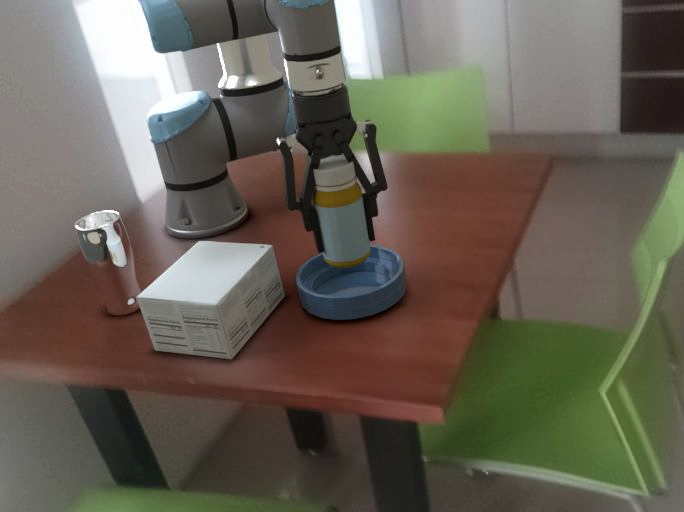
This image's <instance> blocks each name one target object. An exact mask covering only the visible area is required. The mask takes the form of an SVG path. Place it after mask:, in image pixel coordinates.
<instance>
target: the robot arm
mask: <svg viewBox="0 0 684 512" xmlns="http://www.w3.org/2000/svg"><path fill="white" fill-rule="evenodd" d="M137 5H138V11H139V16H140V19H141V23H142V26H143V30H144V32H145V35H146V37H147V41H148V44H149V45H150V47H151V49H152V50H153V51H154V52H155V53H158V54H160V55H161V54H169V53H175V52H176V53H177V52H182V53H185V52H188V51H191V50H195V49H200V48H205V47H209V46H213V45H214V46H215V45H217V49H218V53H219V58H220V62H221V65H222V66H221V67H222V70H223V76H222V77H221V78H220V81H219V83H218V89H219V93H220V95H219V96H215V97H211V95H210V94H209V93H208V92H207V91H205V90H194V91H186V92H182V93H179V94H176V95H173V96H170V97H168V98H165V99H164V100H162V101H159V102H158V103H157V104H156V105H154V106H153V107H152V108H151V109H150V110H149V112H148V114H147V116H146V121H147V122H146V123H147V127H148V131H149V140H150V142H151V143H152V145H153V148H154V151H155V154H156V159H157V162H158V165H159V169H160V173H161V176H162V180H163V183H164V187H165V192H166V193H165V214H164V216H165V218H164V220H165V226H166V229H167V232H168V233H169V234H170V235H172V236H174V237H177V238H181V239H204V238H209V237H215V236H218V235H221V234H223V233H226V232H229V231H231V230H233V229H235V228H237V227H239V226H240V225H241V224H242V223H244V222H245V221H246V220H247V218H248V216H249V210H248V207H247V203H246V201H245V199H244V197H243V196H242V194H241V193H240V191H239V189H238V188H237V186H236V184H235V183H234V182H233V180H232V179H231V177H230V174H229V173H230V172H229V170H228V165H227V163H231V162H234V161H239V160H243V159H247V158H251V157H255V156H259V155H262V154H266V153H267V154H268V153H271V152H272V153H273V152H274V153H276V152H278V151H280V153H281V161H282V172H283V173H282V174H283V186H284V187H283V188H284V197H285V198H284V199H285V203H286V206H287V208H288V210H289V211H292V212H294V211H298V212H300V213H301V218H302V223H303V224H302V225H303V227H304V229H305V231H306V232H307V233H310V232H312V235H313V240H314V245H315V248H316V250H317V252H318V254H320V253H323V252H324V250H323V245H322V240H321V234H320V229H319V224H318V218H317V213H316V210H315V208H314V204H313V191H314V186H315V176H314V169H318V167H319V165H320V160H321V159H323V158H327V157H329V156H331V155H334V156H338V155H344V156H345V158H346V160H347V161H348V163H350V162H352V161H353V164H354V170H355V174H356V178H357V180H358V181H359V183H360V185H361V187H362V188H363V190H364V192H362V197H363V203H364V210H365V216H366V223H367V229H368V236H369V242H370V243H371V242H375V241H376V234H375V229H374V222H373V218H376V217H379V207H378V201H377V199H378V194H380V193H381V192H386V191H387V190H388V187H389V186H388V183H387V178H386V175H385V174H386V173H385V170H384V166H383V163H382V160H381V155H380V152H379V148H378V144H377V131H378V129H377V125H376V124H375V123H374V122H373V121H372V119H366V120H364V121H356V120H355V119H354V116H353V115H352V109H351V102H350V96H349V89H348V86H347V85H346V84H345V82H346V79H347V77H346V71H345V65H344V58H343V52H342V44H341V38H340V31H339V24H338V17H337V11H336V3H335V0H137ZM273 33H278V35H279V40H280V47H281V51H282V56H283V63H284V67H285V73H286V77H287V80H285V79H284V75H283V73H282V72H281V71H280V70H279V69H277V68H276V67H274V66H273V64H272V60H271V56H270V55H271V54H270V50H269V46H268V41H267V35H268V34H273ZM357 131H358V134H359V136H360V137H361V138H362V139H363V143H364V146H365V150H366V154H367V156H368V160H369V163H370V168H371V171H372V175H373V179H374V181H372V182H371V181H370V179H369V178H368V176H367V174H366V172H365V171H364V169H363V167H362V166H361V164H360V162H359V160H358V159H357V158H356V156H355V153H354V152H353V150H352V147H350V144H351V142H352V140H353V138H354V136H355V134H356V132H357ZM297 143H299V144H300V145H301V146H302V147H303V148H304V149H305V150H306V151H307V152H306V157H305V158H306V162H305V166H304V171H303V178H302V182H301V188H300V193H299V198H297V191H296V190H297V189H296V177H295V176H296V175H295V162H294V156H293V154H294V153H295V152H296V145H297Z"/></svg>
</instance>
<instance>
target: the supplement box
mask: <svg viewBox="0 0 684 512" xmlns="http://www.w3.org/2000/svg"><path fill="white" fill-rule="evenodd" d="M285 295H286V294H285V290H284V287H283V282H282V279H281V274H280V270H279V266H278V261H277V258H276V253H275V249H274V245H272V244H266V243H265V244H264V243H246V242H244V243H243V242H227V241H226V242H225V241H214V240H213V241H212V240H198V241H197V242H196V243H195V244H193V246H191V247H190V248H189V250H187V251H186V252H185V253H184V254H183V255H182V256H181V257H180V258H178V260H176V261H175V262H174V263H173V264H172V265H171V266H169V267H168V268H167V269H166V270H165V271H164V272H163V273H161V274H160V275H159V276H158V277H157V278H156V279H155V280H154V281H153V282H152V283H151V284H149V286H147V287H146V288H145V289H144V290H143V291H142V293H140V294H139V295H138V296H137V297H136V298H137V301H138V303H139V306H140V309H139V310H140V311H141V314H142V317H143V321H144V323H145V326H146V328H147V331H148V335H149V338H150V341H151V343H152V347H153V349H154V351H155V352H166V353H173V354H181V355H192V356H199V357H208V358H216V359H217V358H218V359H225V360H233V359H234V357H235V356H236V355H237V354H238V353H239V352H240V350H241V349H242V348H243V347H244V346H245V345H246V343H247V342H248V341H249V340H250V339H251V338H252V336H253V335H254V334H255V332H257V330H258V329H259V328H260V326H262V324H263V323H264V322H265V321H266V319H267V318H268V317H269V316H270V315H271V313H273V311H274V310H275V309H276V308H277V306H279V304H280V303H281V302H282V300H283V299H284V298H285V297H286V296H285Z"/></svg>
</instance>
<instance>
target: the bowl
mask: <svg viewBox="0 0 684 512" xmlns="http://www.w3.org/2000/svg"><path fill="white" fill-rule="evenodd" d="M370 250H371V253H370V255H369V257H368V258H367V260H366V261H364V262H363V263H361V264H359V265H357V266H353V267H348V268H338V267H333V266H331V265H330V264H328V263H327V262H326V261H325V260H324V256H323V253H318V254H316V255H314V256H313V257H311V258H309V259H308V260H307V261H305V262H304V263H303V264H302V265H301V266H300V267H299V268H298V270H297V273H296V275H295V281H296V282H295V283H296V286H297V291H298V297H299V299H300V304H301V307H302V308H303V309H304V310H305V311H306V312H307V313H309V314H311V315H313V316H316V317H318V318H321V319H327V320H332V321H333V320H334V321H344V320H356V319H361V318H367V317H369V316H370V317H371V316H374V315H376V314H378V313H381V312H383V311H386V310H388V309H389V308H391V307H392V306H394V305H395V304H397V303H398V302H399V301H400V300H401V299H402V297H404V295H405V293H406V290H407V285H408V284H407V275H406V268H405V262H404V260H403V257H402V256H401V254H399V253H398V252H396V251H395V250H393V249H391V248H388V247H385V246H381V245H376V244H375V245H374V244H370Z"/></svg>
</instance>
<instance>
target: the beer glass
mask: <svg viewBox="0 0 684 512" xmlns="http://www.w3.org/2000/svg"><path fill="white" fill-rule="evenodd" d="M73 226H74V229H75V232H76V236H77V240H78V243H79V246H80V250H81V253H82V255H83V257H84V260H85V262H86V264H87V265H88V268H89V269H90V271H91V272H92V274H93V276H94V277H95V279H96V280H97V282H98V284H99V286H100V288H101V290H102V292H103V296H104V300H105V306H106V311H107V313H108V314H109V315H112V316H117V317H119V316H126V315H130V314H133V313H135V312H138V311H139V310H141V309H140V306H139V303H138V301H137V298H136V297H137V296H138V295H139V294H140V293H142V292H143V291H142V289H141V287H140V285H139V282H138V279H137V274H136V265H135V259H134V253H133V248H132V244H131V240H130V237H129V235H128V231H127V229H126V227H125V225H124V223H123V220H122V218H121V215H120V213H119V212H117V211H114V210H102V211H96V212H92V213H90V214H86V215H84V216H83V217H81V218H79V219H78V220H77V221H75V222H74V225H73Z"/></svg>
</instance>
